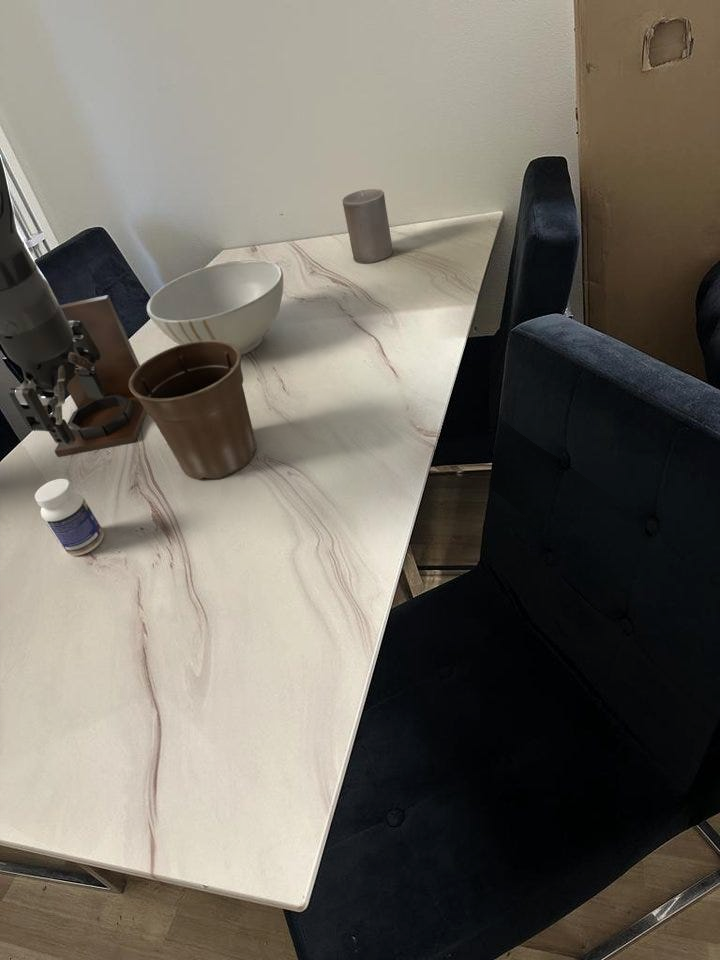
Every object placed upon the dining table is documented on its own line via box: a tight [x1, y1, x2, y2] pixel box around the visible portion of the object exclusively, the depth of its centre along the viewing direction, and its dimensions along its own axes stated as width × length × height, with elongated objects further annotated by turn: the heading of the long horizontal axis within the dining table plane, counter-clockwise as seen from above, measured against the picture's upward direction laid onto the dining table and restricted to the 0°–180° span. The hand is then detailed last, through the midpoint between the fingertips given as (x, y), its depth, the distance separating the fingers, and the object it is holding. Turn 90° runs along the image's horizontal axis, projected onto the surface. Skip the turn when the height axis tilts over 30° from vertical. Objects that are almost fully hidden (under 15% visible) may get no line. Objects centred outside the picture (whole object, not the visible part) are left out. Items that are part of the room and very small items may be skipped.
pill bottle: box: [34, 478, 105, 557], centre depth 91 cm, size 6×6×10 cm
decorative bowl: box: [146, 259, 284, 356], centre depth 131 cm, size 27×27×12 cm
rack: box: [54, 294, 148, 457], centre depth 113 cm, size 14×15×20 cm
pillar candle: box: [342, 188, 394, 264], centre depth 153 cm, size 10×10×15 cm
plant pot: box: [129, 340, 257, 481], centre depth 99 cm, size 16×16×16 cm
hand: (83, 419), depth 85 cm, fingers open, 8 cm apart
